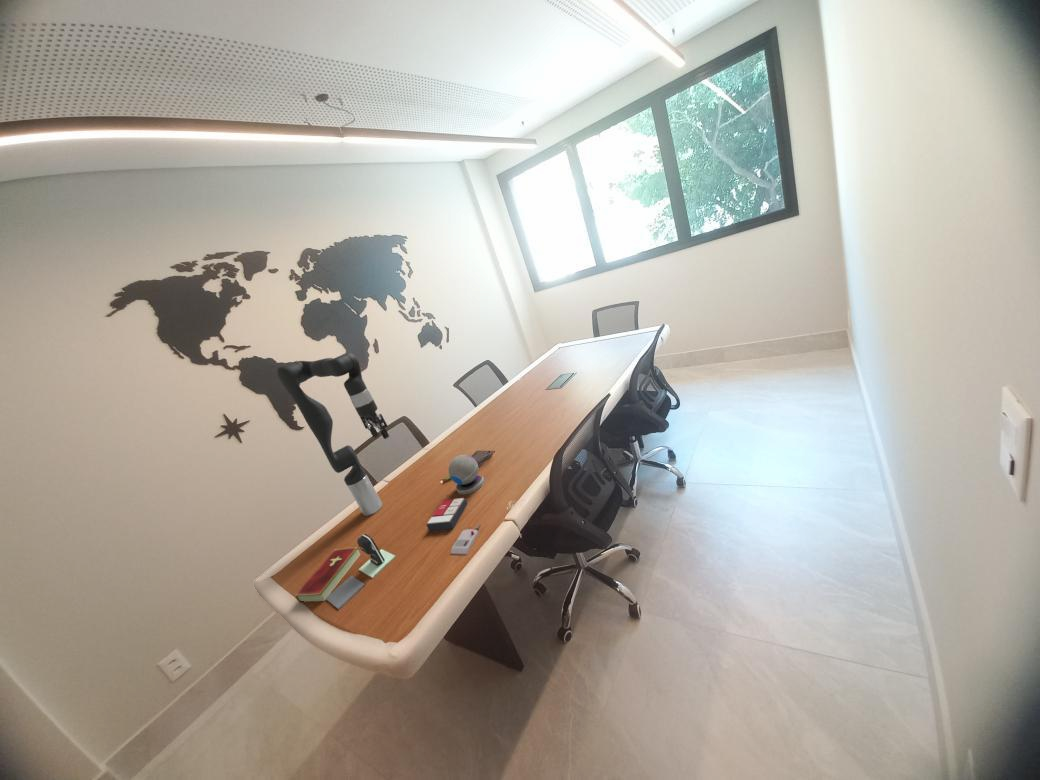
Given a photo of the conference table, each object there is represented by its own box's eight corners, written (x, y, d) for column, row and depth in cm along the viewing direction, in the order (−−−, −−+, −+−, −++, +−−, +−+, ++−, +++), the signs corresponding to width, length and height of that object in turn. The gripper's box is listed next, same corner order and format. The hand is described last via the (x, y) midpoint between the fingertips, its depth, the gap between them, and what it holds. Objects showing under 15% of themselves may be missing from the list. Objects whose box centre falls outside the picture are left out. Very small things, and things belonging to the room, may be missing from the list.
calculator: (465, 496, 154) (449, 520, 140) (468, 505, 155) (453, 530, 141) (442, 499, 158) (425, 523, 144) (446, 507, 159) (429, 532, 145)
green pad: (359, 570, 138) (358, 569, 137) (382, 550, 144) (381, 549, 144) (372, 578, 131) (372, 577, 131) (395, 556, 138) (395, 555, 138)
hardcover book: (299, 603, 132) (293, 594, 131) (339, 556, 151) (334, 548, 150) (325, 602, 128) (319, 593, 127) (362, 554, 147) (357, 546, 146)
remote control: (448, 559, 128) (445, 552, 127) (469, 526, 141) (466, 519, 140) (464, 560, 125) (461, 553, 124) (484, 525, 138) (481, 519, 137)
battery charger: (368, 563, 139) (353, 539, 135) (377, 555, 141) (363, 532, 138) (376, 568, 134) (362, 544, 131) (385, 560, 137) (371, 536, 133)
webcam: (489, 477, 168) (477, 449, 163) (472, 496, 158) (459, 466, 154) (468, 475, 176) (456, 448, 171) (451, 493, 166) (438, 465, 161)
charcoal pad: (326, 599, 129) (325, 598, 129) (352, 576, 136) (351, 575, 135) (338, 609, 122) (338, 608, 122) (365, 585, 129) (364, 584, 129)
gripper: (347, 407, 150) (365, 441, 156) (363, 406, 141) (382, 443, 146) (363, 398, 156) (380, 431, 161) (380, 397, 146) (398, 433, 151)
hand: (381, 437), depth 153 cm, fingers open, 8 cm apart
